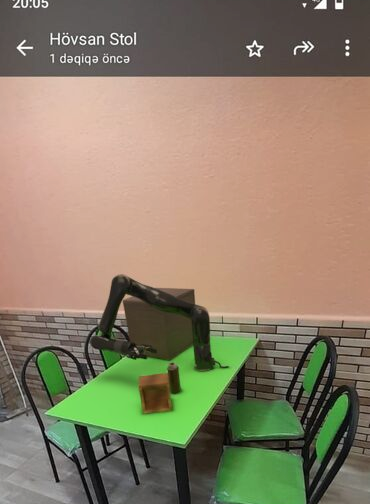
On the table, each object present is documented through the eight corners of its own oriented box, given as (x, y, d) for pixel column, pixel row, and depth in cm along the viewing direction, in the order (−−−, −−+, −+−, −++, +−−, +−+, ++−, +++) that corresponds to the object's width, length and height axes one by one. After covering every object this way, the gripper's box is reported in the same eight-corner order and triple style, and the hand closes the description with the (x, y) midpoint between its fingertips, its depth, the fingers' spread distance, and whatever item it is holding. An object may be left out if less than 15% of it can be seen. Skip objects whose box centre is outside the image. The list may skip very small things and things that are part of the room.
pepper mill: (180, 388, 168) (177, 359, 160) (181, 393, 163) (178, 364, 155) (169, 389, 168) (166, 360, 160) (170, 394, 163) (166, 365, 155)
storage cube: (169, 361, 199) (162, 302, 182) (132, 354, 214) (122, 299, 196) (198, 341, 224) (194, 288, 206) (162, 337, 238) (156, 287, 220)
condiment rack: (171, 399, 158) (167, 372, 151) (172, 410, 150) (168, 382, 143) (143, 402, 158) (139, 376, 151) (143, 413, 150) (138, 385, 142)
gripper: (115, 345, 161) (142, 351, 155) (132, 336, 172) (159, 342, 165) (116, 359, 165) (143, 366, 159) (134, 350, 176) (159, 356, 169)
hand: (151, 354), depth 162 cm, fingers open, 8 cm apart
